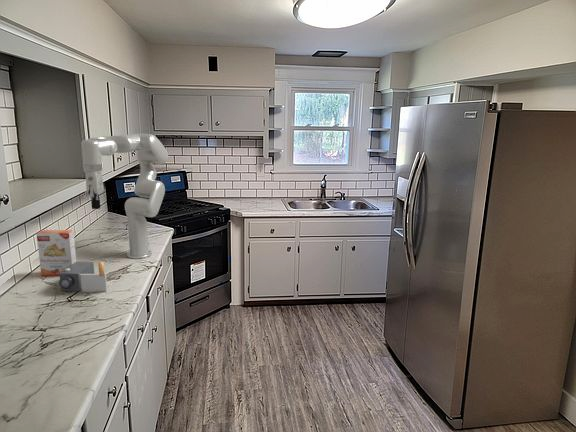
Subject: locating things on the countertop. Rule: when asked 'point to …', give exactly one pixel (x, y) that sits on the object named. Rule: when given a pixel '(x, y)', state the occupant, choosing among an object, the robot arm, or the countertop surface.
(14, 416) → the countertop surface
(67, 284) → the block
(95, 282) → the grey blade tan handle
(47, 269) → the cracker box
